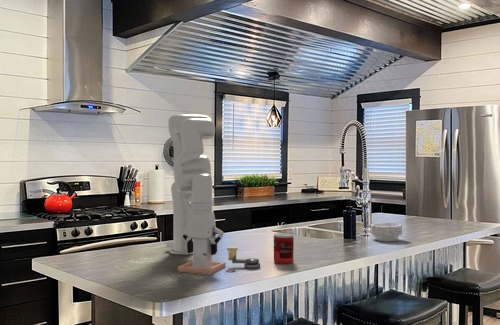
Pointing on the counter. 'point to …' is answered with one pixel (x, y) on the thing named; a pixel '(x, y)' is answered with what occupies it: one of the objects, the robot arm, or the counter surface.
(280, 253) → the canned food
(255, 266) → the crank hub
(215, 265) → the tray
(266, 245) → the counter surface
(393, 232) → the paper bowls
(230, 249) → the crank
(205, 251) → the skincare box
